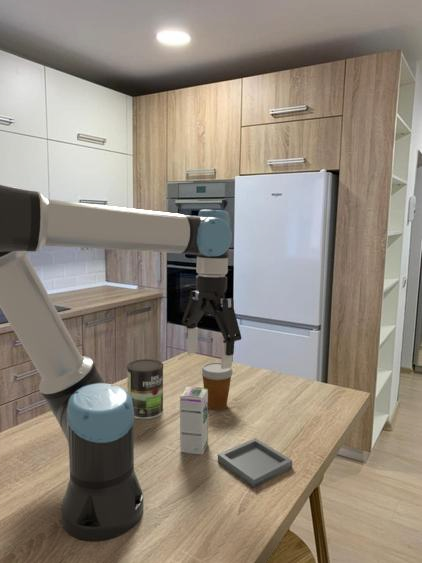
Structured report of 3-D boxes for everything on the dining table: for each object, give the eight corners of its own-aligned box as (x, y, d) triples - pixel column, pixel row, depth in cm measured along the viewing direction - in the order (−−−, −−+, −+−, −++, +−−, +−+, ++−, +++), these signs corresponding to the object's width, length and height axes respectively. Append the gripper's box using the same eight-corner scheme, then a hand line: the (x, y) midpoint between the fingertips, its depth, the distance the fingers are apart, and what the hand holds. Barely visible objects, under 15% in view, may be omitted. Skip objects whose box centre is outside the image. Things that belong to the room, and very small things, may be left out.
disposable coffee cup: (226, 415, 120) (227, 374, 118) (195, 409, 123) (196, 370, 121) (235, 401, 129) (236, 364, 127) (206, 396, 132) (207, 360, 130)
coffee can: (170, 412, 121) (170, 365, 119) (139, 423, 114) (139, 374, 112) (150, 400, 129) (150, 356, 126) (120, 410, 122) (120, 363, 120)
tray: (253, 487, 88) (253, 479, 87) (217, 461, 97) (217, 454, 97) (292, 467, 95) (292, 460, 95) (255, 444, 104) (255, 438, 104)
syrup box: (203, 455, 99) (204, 397, 97) (179, 452, 100) (179, 395, 98) (208, 443, 105) (209, 388, 103) (185, 440, 106) (185, 385, 104)
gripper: (260, 280, 94) (254, 371, 97) (193, 268, 113) (190, 345, 116) (235, 282, 89) (230, 378, 92) (170, 269, 108) (167, 349, 111)
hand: (208, 360), depth 104 cm, fingers open, 13 cm apart
